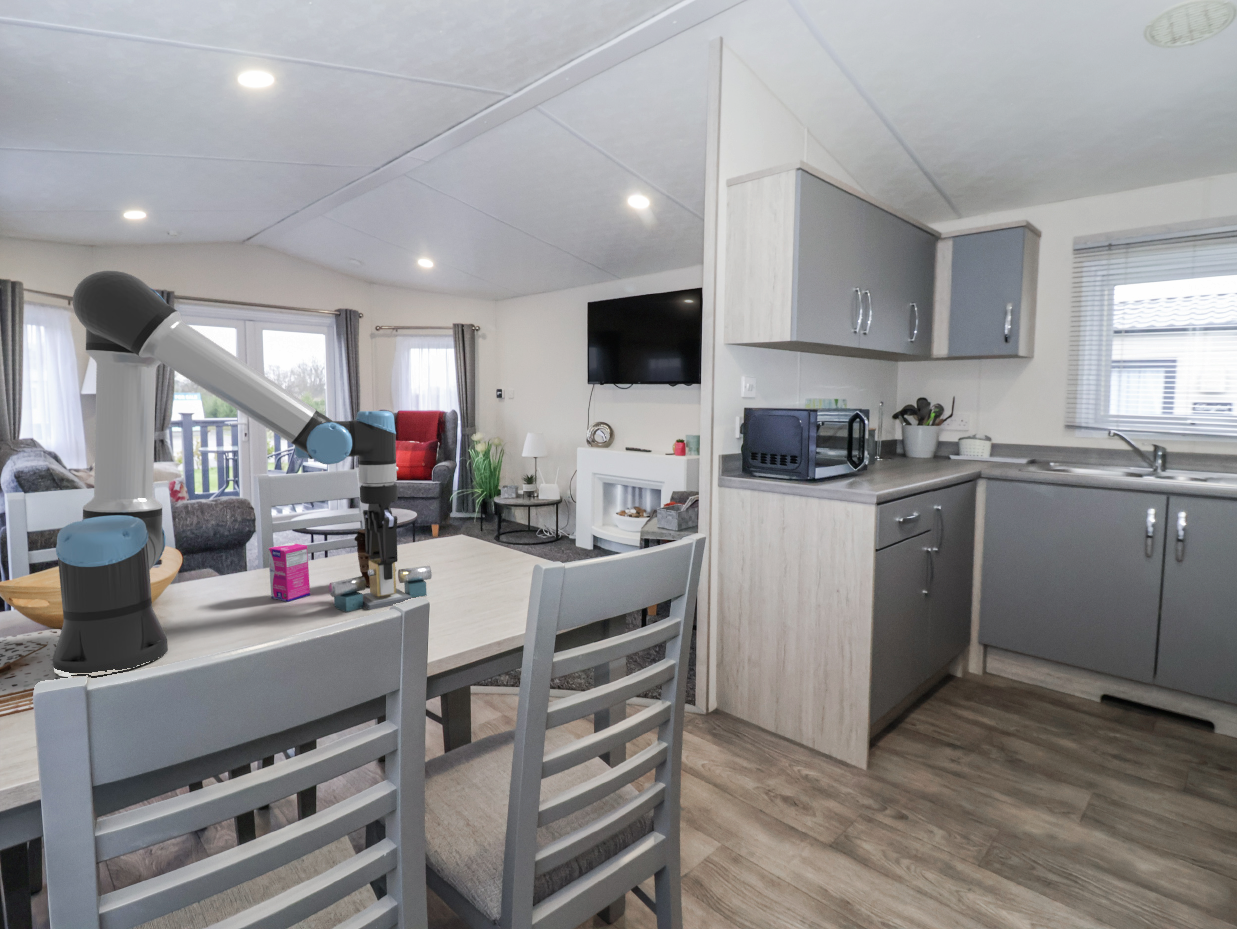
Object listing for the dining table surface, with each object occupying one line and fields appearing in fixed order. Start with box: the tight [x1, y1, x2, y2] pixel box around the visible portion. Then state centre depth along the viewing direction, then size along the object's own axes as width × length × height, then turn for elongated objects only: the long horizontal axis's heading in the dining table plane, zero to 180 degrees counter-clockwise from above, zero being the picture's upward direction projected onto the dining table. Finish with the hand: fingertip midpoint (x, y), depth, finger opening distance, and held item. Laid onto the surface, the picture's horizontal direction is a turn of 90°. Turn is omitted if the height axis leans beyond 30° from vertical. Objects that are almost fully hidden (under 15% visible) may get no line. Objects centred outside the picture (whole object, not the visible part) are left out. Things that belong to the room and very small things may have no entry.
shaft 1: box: [328, 575, 367, 613], centre depth 137 cm, size 7×5×6 cm
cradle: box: [362, 587, 413, 611], centre depth 142 cm, size 9×9×1 cm
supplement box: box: [267, 542, 311, 603], centre depth 144 cm, size 6×6×12 cm
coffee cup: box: [354, 528, 371, 587], centre depth 154 cm, size 9×8×13 cm
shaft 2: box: [397, 565, 433, 599], centre depth 146 cm, size 7×5×6 cm
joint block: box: [368, 559, 397, 597], centre depth 141 cm, size 6×4×7 cm
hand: (382, 590), depth 141 cm, fingers closed on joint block, 4 cm apart
